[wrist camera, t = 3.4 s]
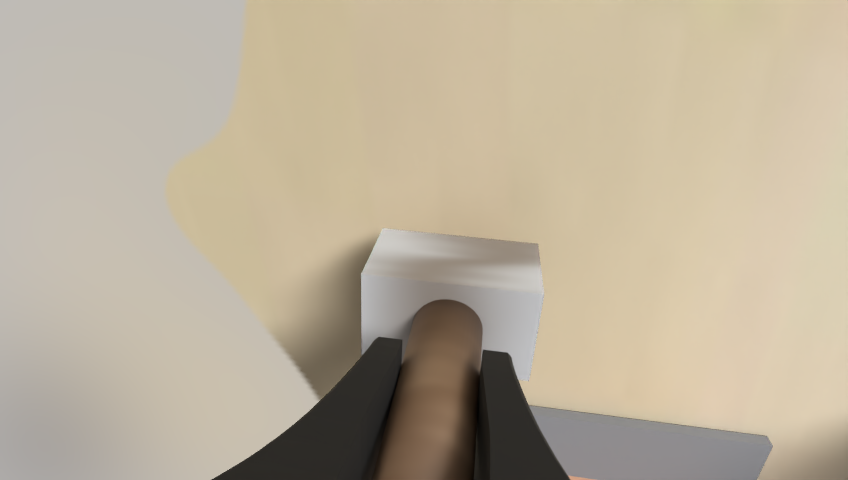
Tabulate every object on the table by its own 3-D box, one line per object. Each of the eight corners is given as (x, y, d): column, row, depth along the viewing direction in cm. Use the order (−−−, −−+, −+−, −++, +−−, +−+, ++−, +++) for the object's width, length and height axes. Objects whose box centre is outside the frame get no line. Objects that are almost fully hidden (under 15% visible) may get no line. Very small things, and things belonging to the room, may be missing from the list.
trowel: (538, 243, 17) (574, 539, 8) (525, 321, 18) (544, 648, 10) (382, 228, 18) (258, 490, 9) (381, 305, 19) (272, 600, 10)
